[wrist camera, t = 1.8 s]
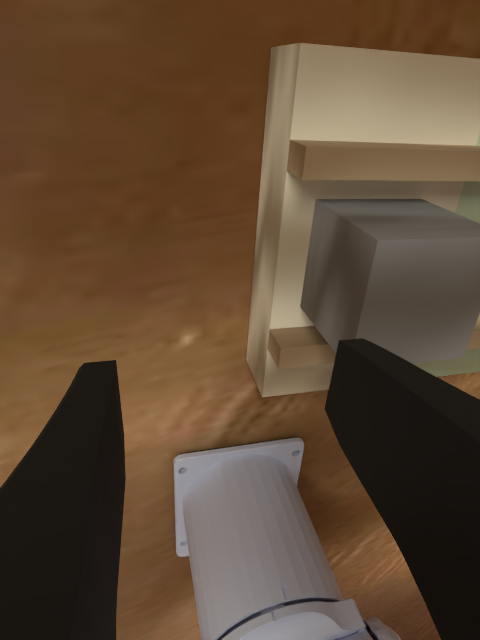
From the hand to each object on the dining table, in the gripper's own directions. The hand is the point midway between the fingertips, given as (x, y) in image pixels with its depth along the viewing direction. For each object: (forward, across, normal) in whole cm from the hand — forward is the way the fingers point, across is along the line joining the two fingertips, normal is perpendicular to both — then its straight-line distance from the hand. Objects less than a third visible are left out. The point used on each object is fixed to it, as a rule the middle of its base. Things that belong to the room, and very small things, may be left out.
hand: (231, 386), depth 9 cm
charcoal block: (+7, -7, 0) cm, 10 cm away
